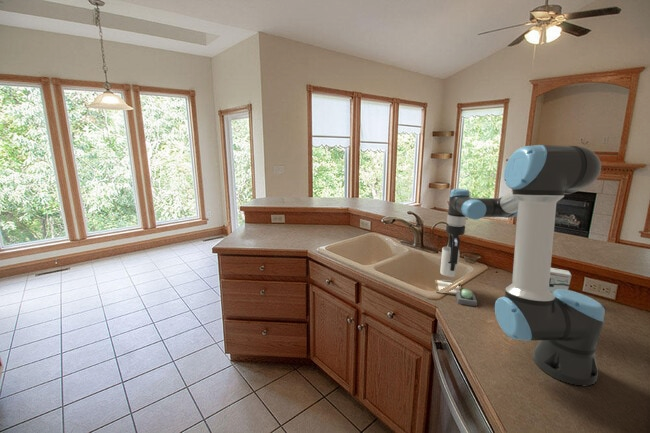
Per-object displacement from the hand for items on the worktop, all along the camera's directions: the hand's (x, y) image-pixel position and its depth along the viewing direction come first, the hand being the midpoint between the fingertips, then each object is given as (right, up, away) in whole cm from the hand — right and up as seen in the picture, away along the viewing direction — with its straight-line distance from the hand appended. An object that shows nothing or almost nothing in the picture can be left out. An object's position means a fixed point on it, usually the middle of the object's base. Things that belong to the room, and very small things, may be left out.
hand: (450, 272), depth 137 cm
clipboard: (0, -7, +2) cm, 8 cm away
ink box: (+44, -9, -4) cm, 45 cm away
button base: (+3, -10, -9) cm, 14 cm away
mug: (0, -1, +1) cm, 1 cm away
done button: (+3, -9, -10) cm, 13 cm away
